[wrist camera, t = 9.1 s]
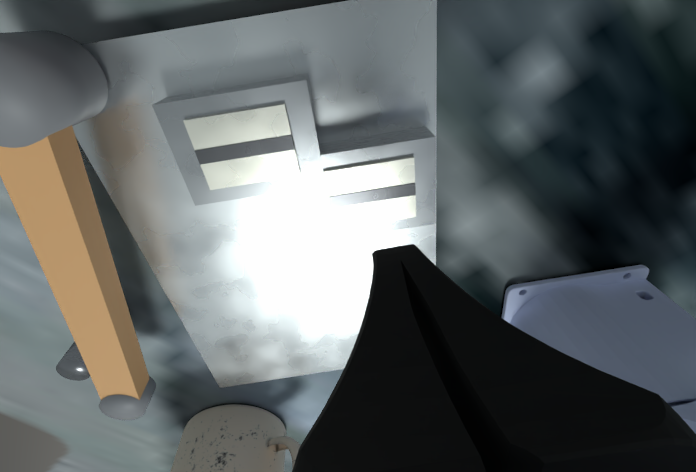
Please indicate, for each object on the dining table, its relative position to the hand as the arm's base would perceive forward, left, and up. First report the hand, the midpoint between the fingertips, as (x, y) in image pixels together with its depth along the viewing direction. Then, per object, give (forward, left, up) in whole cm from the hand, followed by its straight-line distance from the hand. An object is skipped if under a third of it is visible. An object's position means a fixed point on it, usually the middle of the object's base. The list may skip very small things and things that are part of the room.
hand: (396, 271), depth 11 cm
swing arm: (+14, +2, -7) cm, 15 cm away
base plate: (+7, +4, -8) cm, 11 cm away
